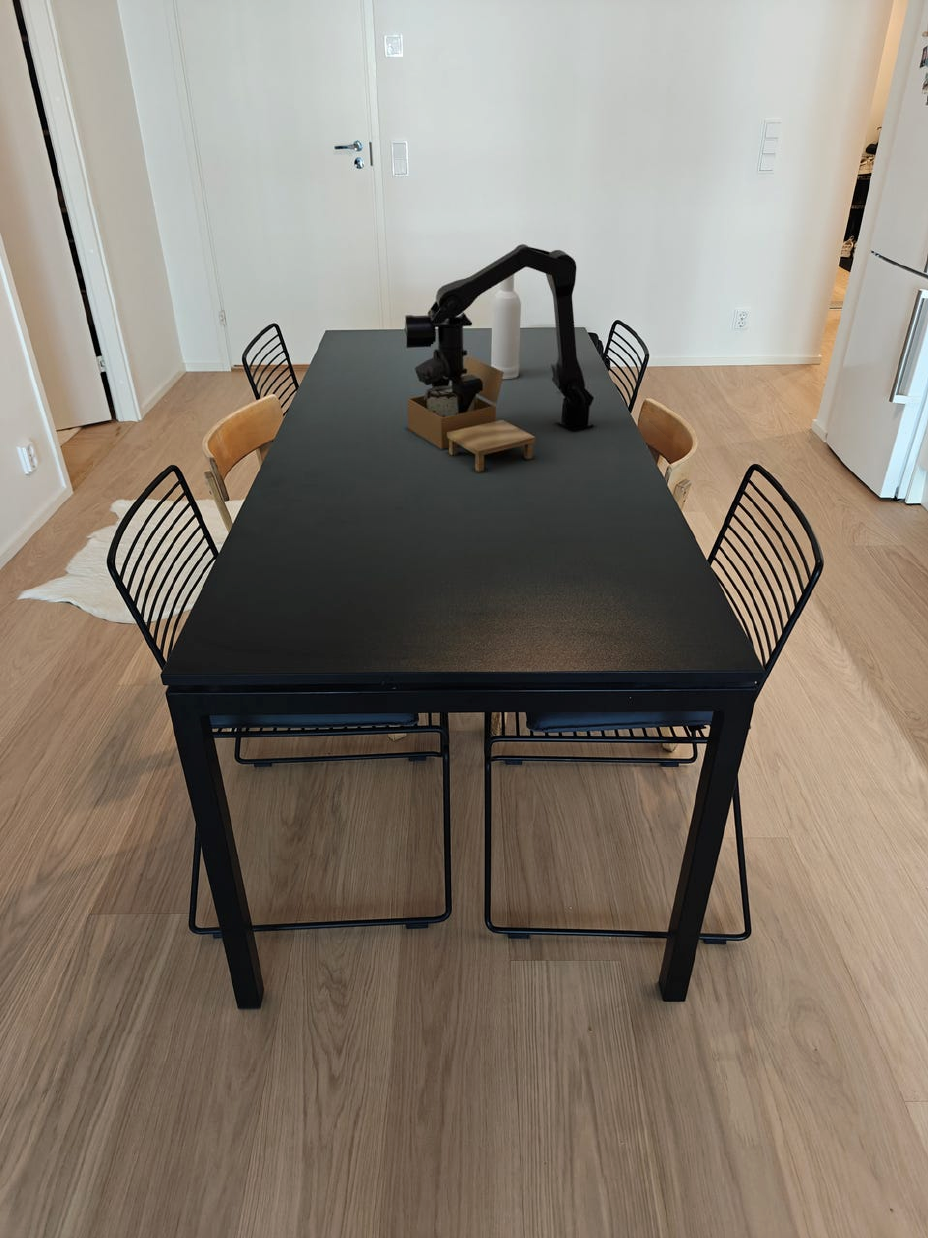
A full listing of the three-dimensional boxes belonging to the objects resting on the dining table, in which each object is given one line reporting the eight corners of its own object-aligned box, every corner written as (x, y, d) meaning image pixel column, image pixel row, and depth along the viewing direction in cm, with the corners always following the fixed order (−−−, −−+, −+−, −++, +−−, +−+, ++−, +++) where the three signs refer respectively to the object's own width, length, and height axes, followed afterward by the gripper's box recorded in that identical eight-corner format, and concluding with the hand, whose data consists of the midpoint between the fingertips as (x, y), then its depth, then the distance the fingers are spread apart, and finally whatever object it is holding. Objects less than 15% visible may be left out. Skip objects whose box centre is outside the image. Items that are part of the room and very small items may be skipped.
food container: (478, 427, 202) (479, 386, 197) (475, 435, 197) (477, 393, 192) (427, 425, 203) (427, 383, 198) (424, 433, 198) (423, 390, 193)
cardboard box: (460, 417, 209) (460, 387, 205) (495, 436, 198) (495, 406, 194) (408, 428, 203) (407, 398, 199) (441, 449, 192) (441, 418, 188)
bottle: (516, 380, 234) (520, 265, 217) (488, 378, 235) (490, 264, 218) (520, 371, 240) (524, 259, 224) (493, 370, 242) (495, 258, 225)
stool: (534, 458, 187) (535, 437, 184) (478, 472, 180) (478, 450, 178) (501, 440, 196) (502, 419, 194) (447, 453, 190) (446, 432, 187)
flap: (459, 385, 205) (460, 385, 205) (495, 403, 194) (496, 403, 194) (466, 355, 202) (467, 355, 202) (502, 371, 191) (504, 371, 191)
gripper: (399, 341, 192) (402, 407, 201) (441, 361, 179) (442, 431, 187) (441, 334, 197) (442, 399, 206) (484, 353, 184) (483, 421, 192)
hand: (451, 412), depth 198 cm, fingers open, 9 cm apart
